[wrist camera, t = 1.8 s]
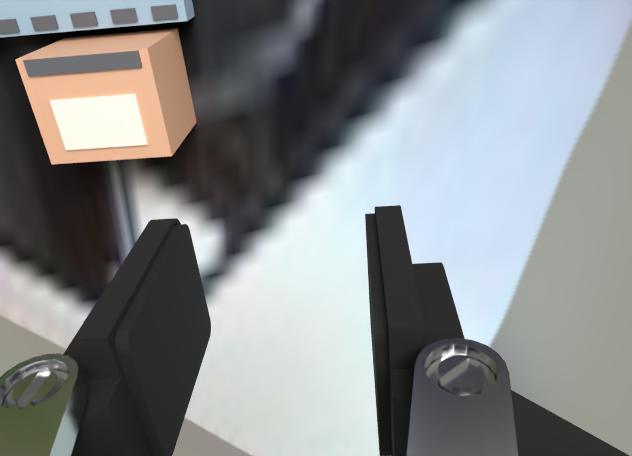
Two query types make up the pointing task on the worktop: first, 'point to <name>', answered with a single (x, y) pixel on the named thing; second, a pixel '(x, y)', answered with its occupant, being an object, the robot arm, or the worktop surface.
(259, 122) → the worktop surface
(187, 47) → the worktop surface
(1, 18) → the blue microchip card
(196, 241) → the worktop surface
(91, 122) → the cardboard box
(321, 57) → the worktop surface
